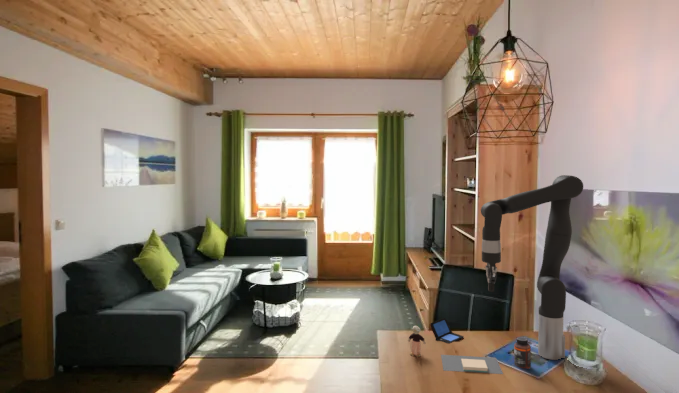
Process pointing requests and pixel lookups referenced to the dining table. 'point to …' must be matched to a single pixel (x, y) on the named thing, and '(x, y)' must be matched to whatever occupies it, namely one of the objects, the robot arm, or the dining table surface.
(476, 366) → the tile
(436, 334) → the handheld game console
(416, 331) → the grandmother figurine
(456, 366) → the mat
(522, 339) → the supplement bottle
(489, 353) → the dining table surface
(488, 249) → the robot arm
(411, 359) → the dining table surface
